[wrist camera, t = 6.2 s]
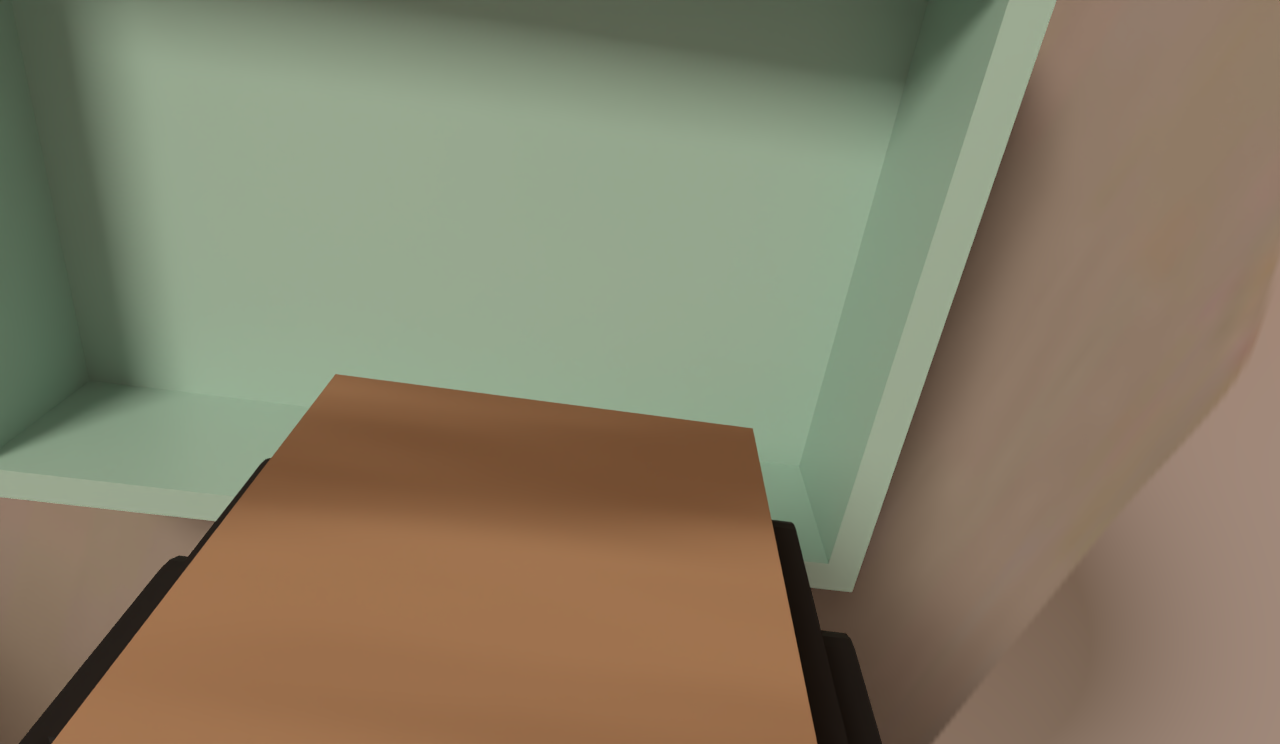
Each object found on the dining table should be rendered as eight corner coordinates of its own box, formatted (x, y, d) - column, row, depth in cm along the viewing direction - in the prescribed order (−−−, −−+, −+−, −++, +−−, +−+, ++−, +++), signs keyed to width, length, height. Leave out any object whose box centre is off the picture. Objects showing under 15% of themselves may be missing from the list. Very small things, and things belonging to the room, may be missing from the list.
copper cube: (335, 373, 9) (47, 748, 5) (753, 428, 10) (835, 831, 5) (348, 672, 12) (158, 1110, 7) (684, 709, 12) (700, 1155, 7)
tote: (83, 388, 23) (-52, 491, 19) (-49, -232, 16) (-308, -302, 12) (814, 476, 24) (852, 592, 20) (972, -67, 18) (1082, -75, 13)
